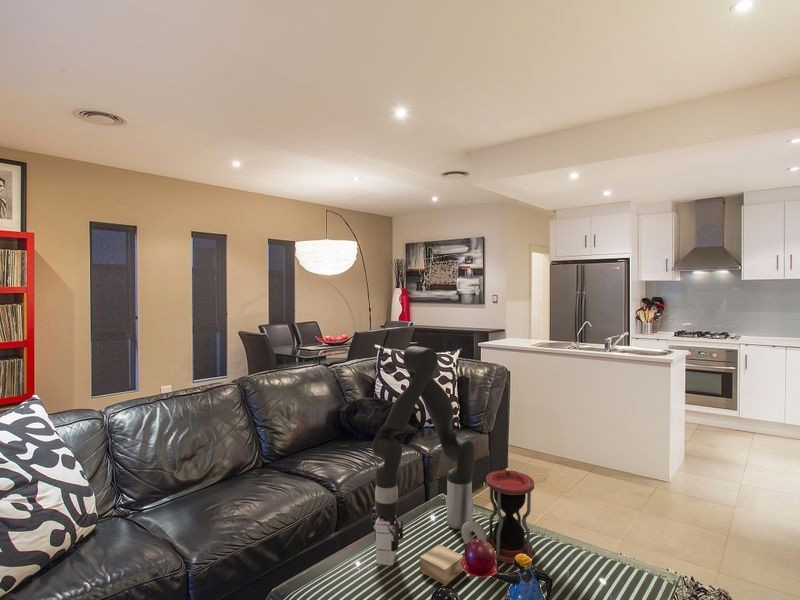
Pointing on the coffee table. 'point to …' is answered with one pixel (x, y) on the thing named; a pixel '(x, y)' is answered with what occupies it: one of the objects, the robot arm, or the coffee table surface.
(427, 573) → the oak block
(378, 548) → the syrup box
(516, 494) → the hourglass
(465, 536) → the donut
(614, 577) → the coffee table surface
